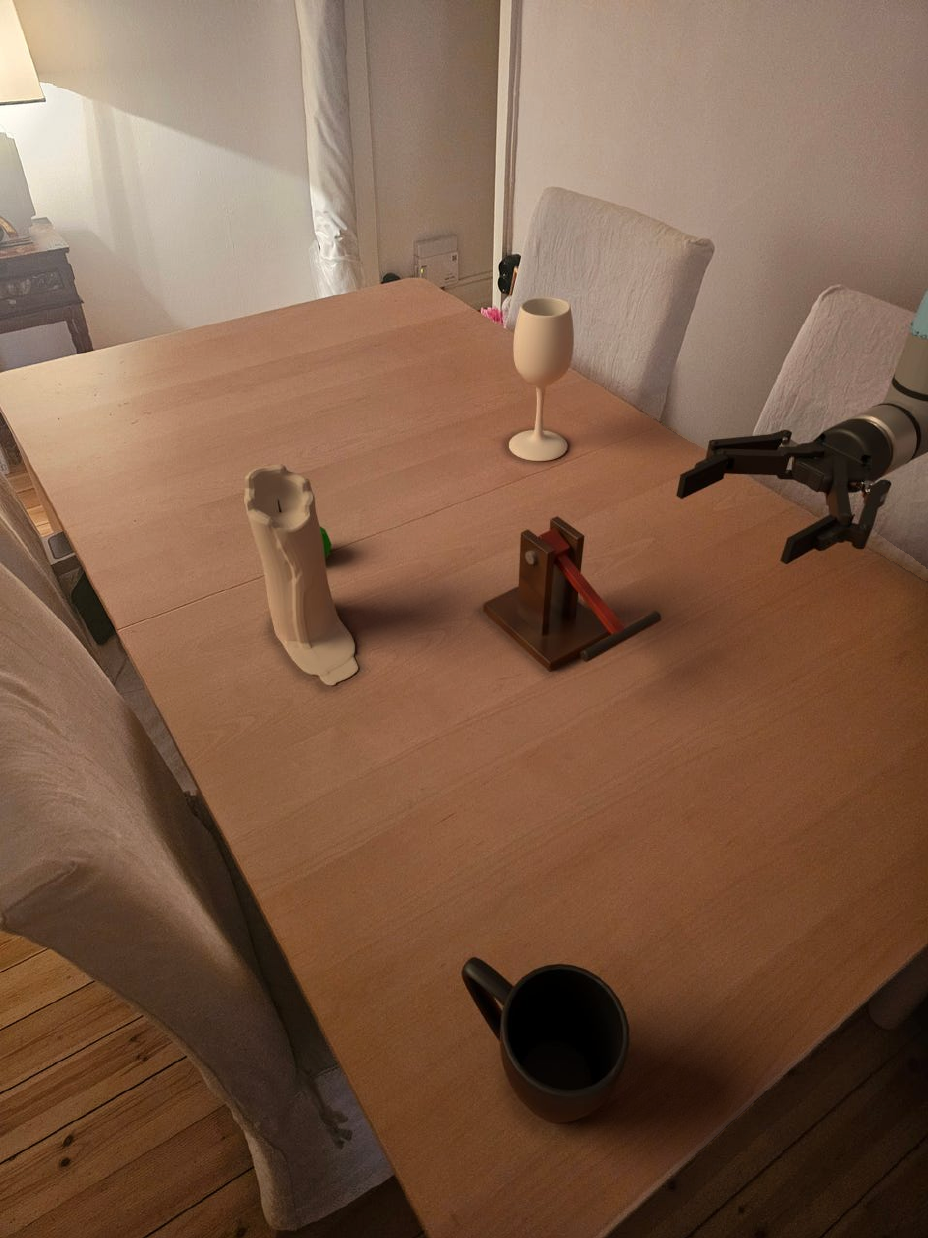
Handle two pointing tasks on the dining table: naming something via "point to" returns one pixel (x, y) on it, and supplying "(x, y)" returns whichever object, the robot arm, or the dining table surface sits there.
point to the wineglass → (542, 367)
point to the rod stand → (547, 602)
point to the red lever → (595, 601)
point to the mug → (554, 1035)
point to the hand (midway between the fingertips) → (731, 517)
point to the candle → (297, 573)
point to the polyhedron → (325, 542)
